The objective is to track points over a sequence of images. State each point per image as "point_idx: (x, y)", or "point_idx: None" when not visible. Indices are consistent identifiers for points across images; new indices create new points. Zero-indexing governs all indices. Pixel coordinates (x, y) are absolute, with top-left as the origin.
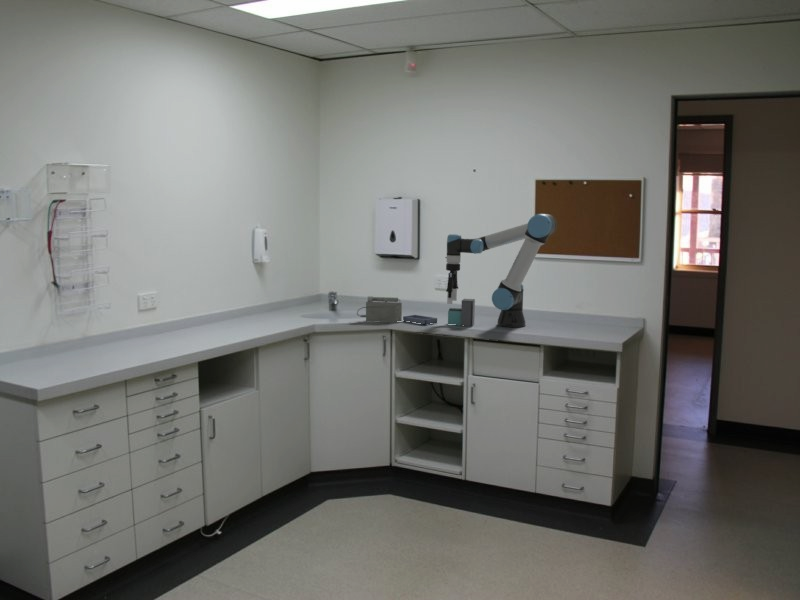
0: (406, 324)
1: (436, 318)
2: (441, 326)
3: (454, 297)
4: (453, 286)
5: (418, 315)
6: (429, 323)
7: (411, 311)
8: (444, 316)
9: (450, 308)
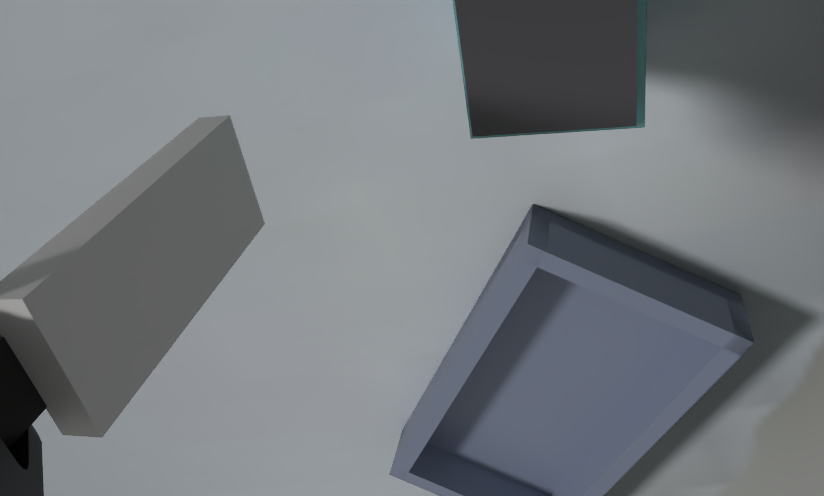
0: (721, 460)
1: (542, 246)
2: (790, 90)
3: (207, 198)
4: (19, 468)
5: (424, 443)
6: (670, 273)
7: None
8: (26, 232)
9: (558, 115)
